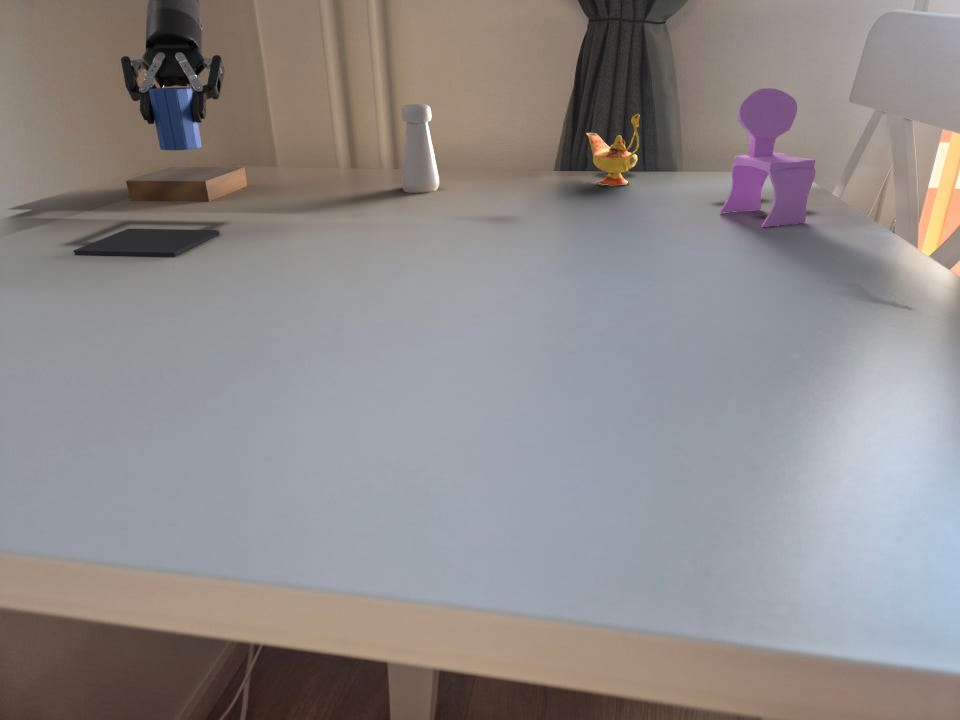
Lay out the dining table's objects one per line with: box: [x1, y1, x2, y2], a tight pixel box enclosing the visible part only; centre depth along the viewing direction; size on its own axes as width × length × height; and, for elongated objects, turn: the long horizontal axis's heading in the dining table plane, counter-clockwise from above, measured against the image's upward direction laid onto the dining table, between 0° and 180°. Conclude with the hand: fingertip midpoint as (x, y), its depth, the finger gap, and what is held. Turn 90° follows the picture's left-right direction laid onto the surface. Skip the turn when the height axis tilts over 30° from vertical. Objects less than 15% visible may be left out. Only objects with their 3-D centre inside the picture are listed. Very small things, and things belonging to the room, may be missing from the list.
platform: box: [125, 166, 248, 203], centre depth 101 cm, size 12×12×4 cm
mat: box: [73, 228, 220, 258], centre depth 79 cm, size 12×10×1 cm
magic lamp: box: [585, 112, 641, 185], centre depth 107 cm, size 7×18×11 cm, turn 15°
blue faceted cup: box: [149, 86, 203, 151], centre depth 96 cm, size 6×6×8 cm
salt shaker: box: [399, 103, 440, 194], centre depth 98 cm, size 6×6×13 cm
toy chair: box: [719, 87, 816, 228], centre depth 81 cm, size 8×9×15 cm
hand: (173, 119), depth 95 cm, fingers closed on blue faceted cup, 5 cm apart
